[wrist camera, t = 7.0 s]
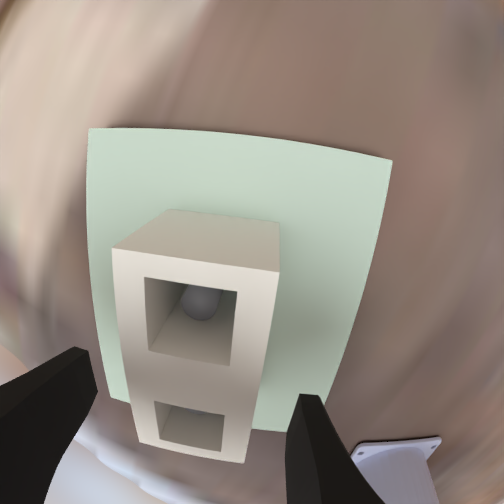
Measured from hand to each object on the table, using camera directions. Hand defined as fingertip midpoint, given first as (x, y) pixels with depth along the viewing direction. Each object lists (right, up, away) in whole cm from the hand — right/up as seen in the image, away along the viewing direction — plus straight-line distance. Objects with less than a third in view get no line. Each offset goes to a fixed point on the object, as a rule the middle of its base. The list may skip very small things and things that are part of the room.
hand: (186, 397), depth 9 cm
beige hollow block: (0, +2, +5) cm, 5 cm away
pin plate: (0, +2, +6) cm, 7 cm away
